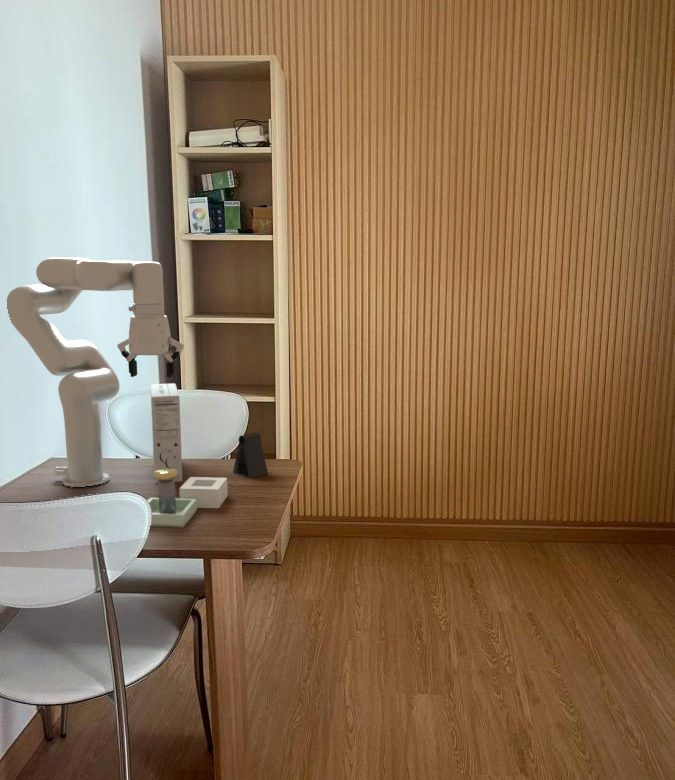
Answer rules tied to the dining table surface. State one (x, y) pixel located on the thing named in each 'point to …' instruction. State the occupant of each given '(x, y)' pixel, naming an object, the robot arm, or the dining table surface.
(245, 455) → the black a-frame stand
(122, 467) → the dining table surface
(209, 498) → the block
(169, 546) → the dining table surface
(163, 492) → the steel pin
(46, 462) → the dining table surface
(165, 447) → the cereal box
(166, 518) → the tray
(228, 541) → the dining table surface
